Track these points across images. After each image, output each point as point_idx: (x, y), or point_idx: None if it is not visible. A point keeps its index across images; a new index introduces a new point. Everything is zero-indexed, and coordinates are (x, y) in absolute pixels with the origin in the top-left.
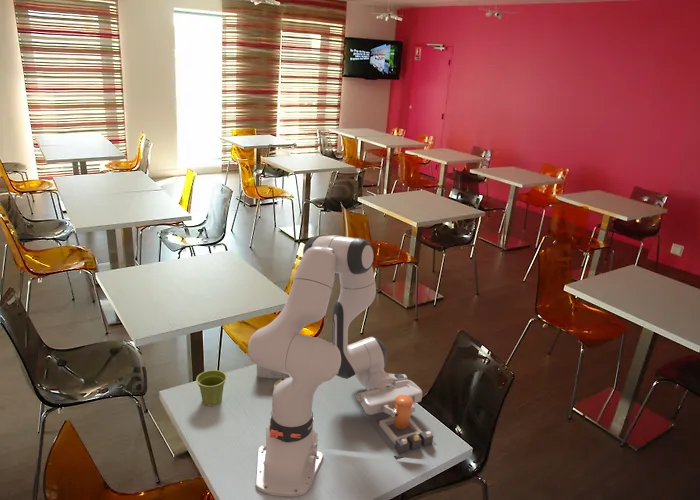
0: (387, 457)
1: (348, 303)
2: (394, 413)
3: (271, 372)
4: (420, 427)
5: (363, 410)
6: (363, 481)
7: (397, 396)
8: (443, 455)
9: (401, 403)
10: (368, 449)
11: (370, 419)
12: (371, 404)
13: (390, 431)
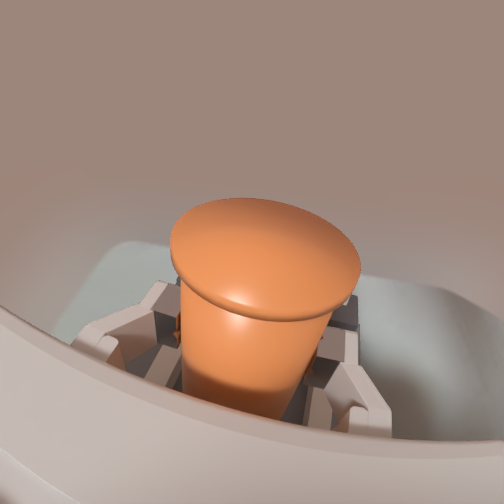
0: (379, 356)
1: None
2: (348, 331)
3: None
4: (130, 363)
5: None
6: (471, 327)
7: (294, 302)
8: None
9: (325, 237)
10: (426, 418)
11: None
12: (502, 450)
13: (319, 410)
